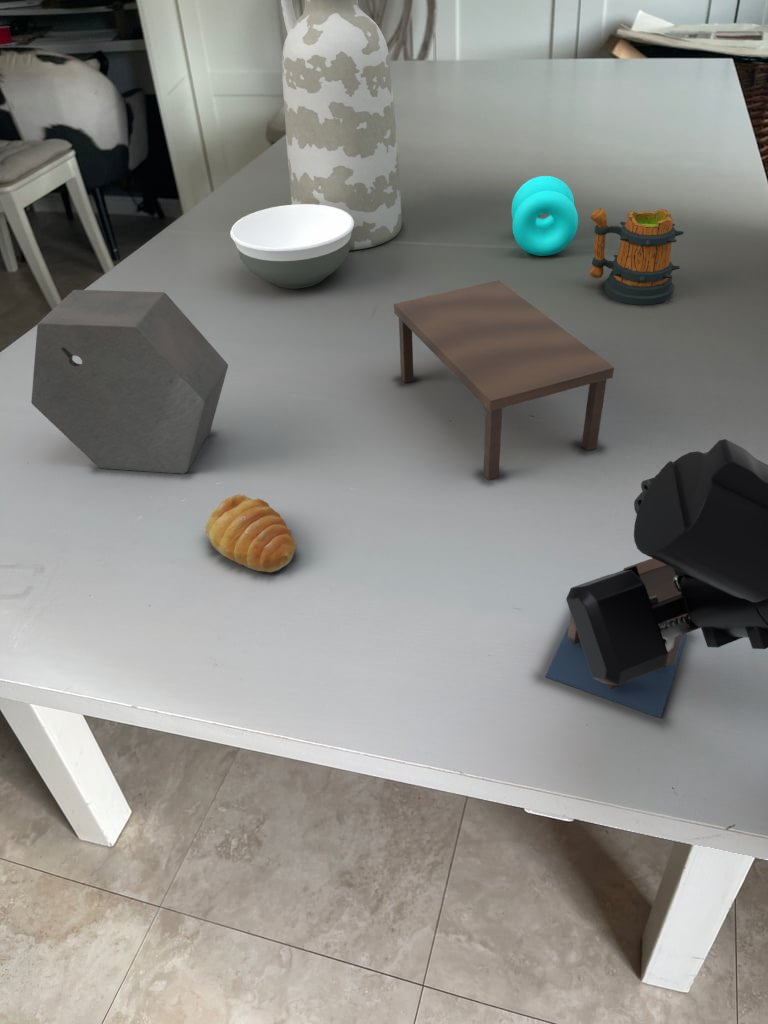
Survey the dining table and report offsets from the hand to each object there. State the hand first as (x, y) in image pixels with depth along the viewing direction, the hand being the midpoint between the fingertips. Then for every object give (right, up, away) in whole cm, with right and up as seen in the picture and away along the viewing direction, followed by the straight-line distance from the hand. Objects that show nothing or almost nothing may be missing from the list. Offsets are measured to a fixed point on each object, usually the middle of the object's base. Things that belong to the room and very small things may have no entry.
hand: (641, 596), depth 59 cm
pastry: (-32, +3, +19) cm, 37 cm away
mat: (0, -5, +6) cm, 8 cm away
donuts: (+7, +49, +72) cm, 87 cm away
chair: (0, -5, +5) cm, 7 cm away
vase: (-26, +55, +82) cm, 102 cm away
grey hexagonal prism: (-45, +13, +32) cm, 57 cm away
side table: (-6, +18, +35) cm, 40 cm away
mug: (+17, +38, +58) cm, 71 cm away
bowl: (-32, +43, +67) cm, 86 cm away
